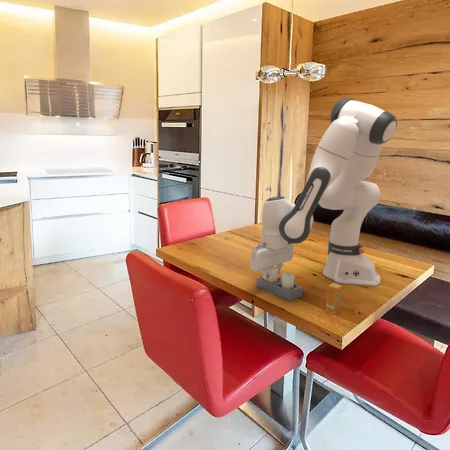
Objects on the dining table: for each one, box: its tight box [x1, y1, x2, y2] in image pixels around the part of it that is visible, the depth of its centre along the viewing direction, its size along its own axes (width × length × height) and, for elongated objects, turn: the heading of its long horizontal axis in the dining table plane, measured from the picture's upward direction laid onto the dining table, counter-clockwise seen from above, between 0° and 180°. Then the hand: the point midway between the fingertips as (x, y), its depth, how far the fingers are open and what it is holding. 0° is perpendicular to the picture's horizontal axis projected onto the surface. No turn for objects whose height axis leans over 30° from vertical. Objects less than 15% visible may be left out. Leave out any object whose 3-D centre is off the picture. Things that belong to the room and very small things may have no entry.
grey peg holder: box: [255, 275, 304, 302], centre depth 139 cm, size 16×7×4 cm, turn 41°
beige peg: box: [281, 271, 295, 290], centre depth 135 cm, size 3×3×8 cm
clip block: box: [264, 266, 279, 283], centre depth 141 cm, size 4×4×8 cm
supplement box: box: [324, 282, 343, 316], centre depth 123 cm, size 3×3×10 cm
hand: (271, 276), depth 141 cm, fingers open, 5 cm apart
